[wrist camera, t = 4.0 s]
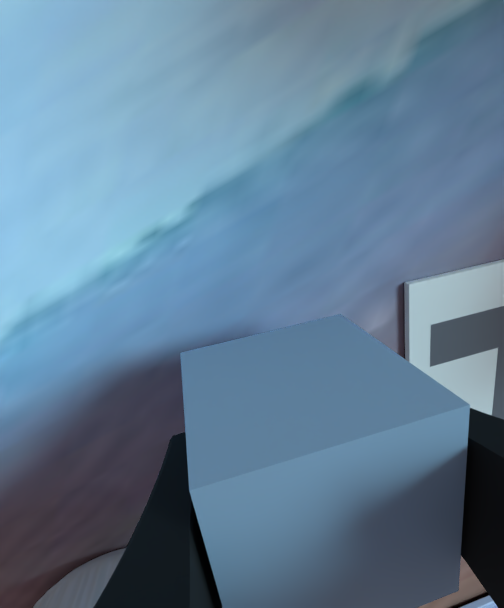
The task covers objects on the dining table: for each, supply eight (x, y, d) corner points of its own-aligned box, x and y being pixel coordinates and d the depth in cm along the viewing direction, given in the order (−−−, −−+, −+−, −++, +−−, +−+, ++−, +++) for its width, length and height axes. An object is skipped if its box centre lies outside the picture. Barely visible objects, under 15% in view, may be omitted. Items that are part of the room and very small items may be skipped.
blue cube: (350, 442, 12) (458, 590, 8) (213, 484, 12) (242, 677, 7) (340, 313, 11) (470, 404, 6) (180, 352, 10) (188, 490, 5)
